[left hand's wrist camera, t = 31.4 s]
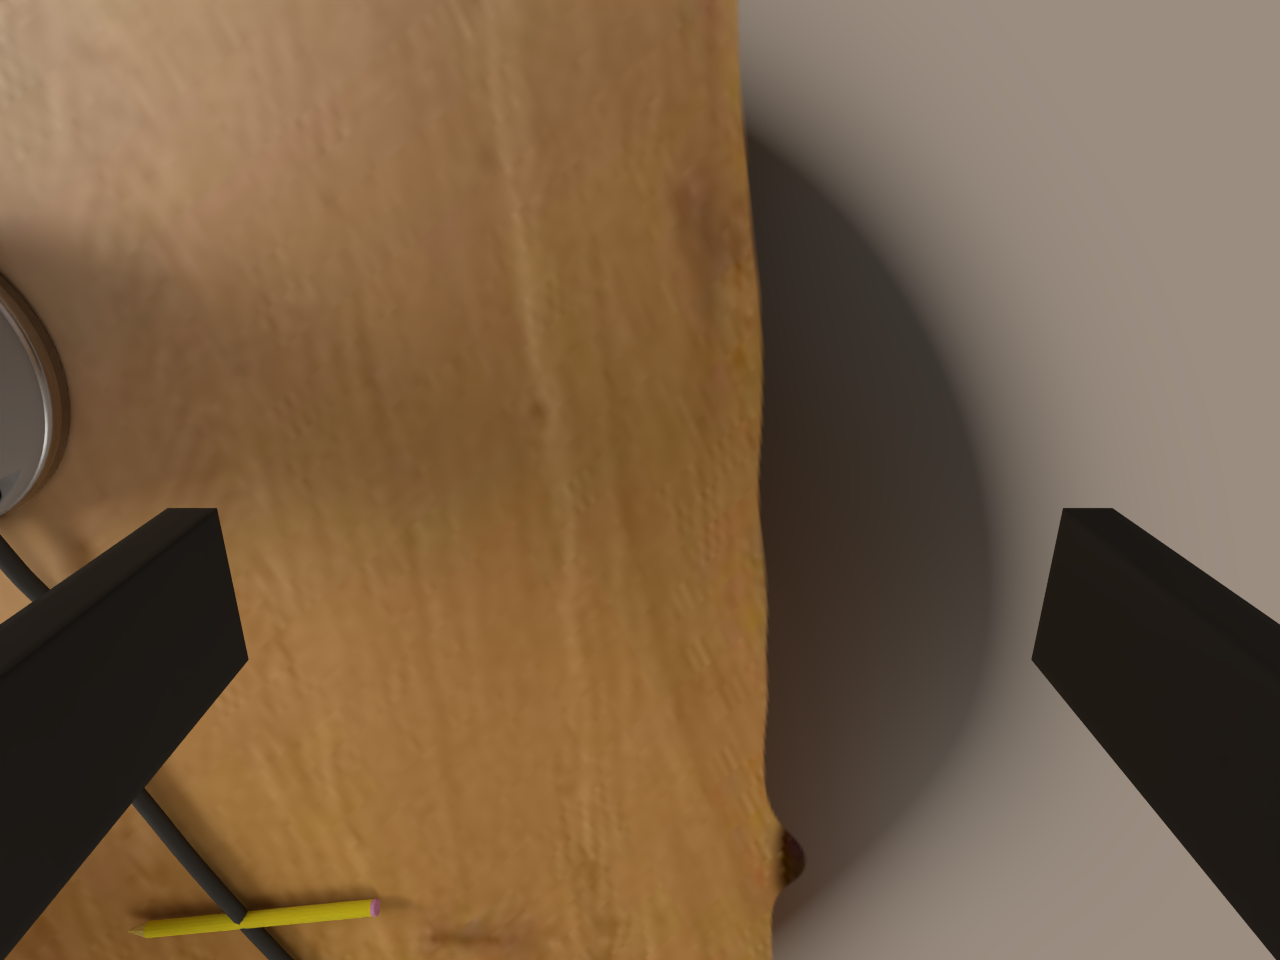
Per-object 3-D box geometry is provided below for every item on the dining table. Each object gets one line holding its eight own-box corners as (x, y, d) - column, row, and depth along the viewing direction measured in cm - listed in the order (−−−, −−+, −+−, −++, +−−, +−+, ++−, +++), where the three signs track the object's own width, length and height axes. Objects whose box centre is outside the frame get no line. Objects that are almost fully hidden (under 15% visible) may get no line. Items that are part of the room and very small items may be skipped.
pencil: (377, 894, 50) (372, 908, 49) (381, 906, 50) (376, 919, 50) (128, 919, 51) (118, 932, 50) (133, 930, 51) (124, 944, 50)
